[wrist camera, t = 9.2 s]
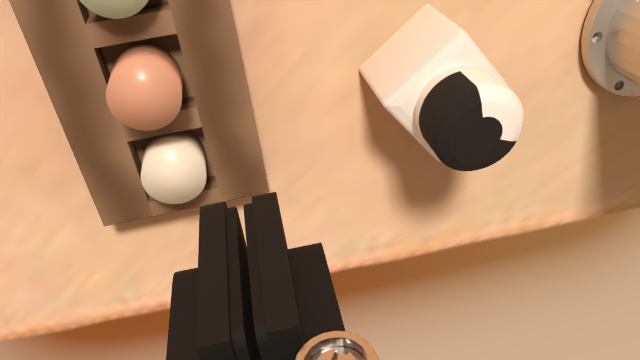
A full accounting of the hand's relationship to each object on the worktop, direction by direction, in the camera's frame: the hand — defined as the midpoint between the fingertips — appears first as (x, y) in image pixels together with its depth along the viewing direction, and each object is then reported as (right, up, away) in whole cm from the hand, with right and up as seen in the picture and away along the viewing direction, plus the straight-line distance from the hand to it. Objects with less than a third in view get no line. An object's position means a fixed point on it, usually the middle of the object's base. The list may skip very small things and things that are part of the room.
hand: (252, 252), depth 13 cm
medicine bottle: (+9, +11, +32) cm, 35 cm away
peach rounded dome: (-10, +9, +26) cm, 29 cm away
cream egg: (-10, +4, +31) cm, 33 cm away
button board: (-11, +10, +28) cm, 32 cm away
